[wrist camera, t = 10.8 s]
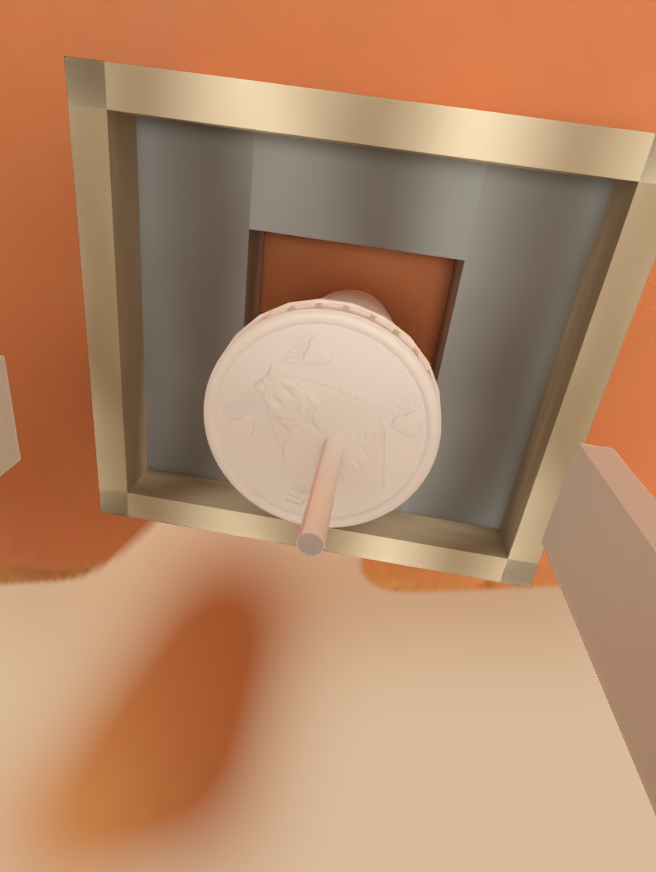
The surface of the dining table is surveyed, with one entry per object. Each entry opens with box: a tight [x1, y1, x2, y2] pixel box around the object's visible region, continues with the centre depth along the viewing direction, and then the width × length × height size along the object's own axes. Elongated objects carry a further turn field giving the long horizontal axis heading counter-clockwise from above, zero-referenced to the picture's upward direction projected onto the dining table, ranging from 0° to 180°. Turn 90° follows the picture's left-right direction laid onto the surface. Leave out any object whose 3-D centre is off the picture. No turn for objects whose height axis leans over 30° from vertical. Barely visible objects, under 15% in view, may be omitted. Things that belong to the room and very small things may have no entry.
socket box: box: [64, 56, 656, 587], centre depth 21 cm, size 18×16×4 cm
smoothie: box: [204, 289, 441, 556], centre depth 16 cm, size 6×6×14 cm
